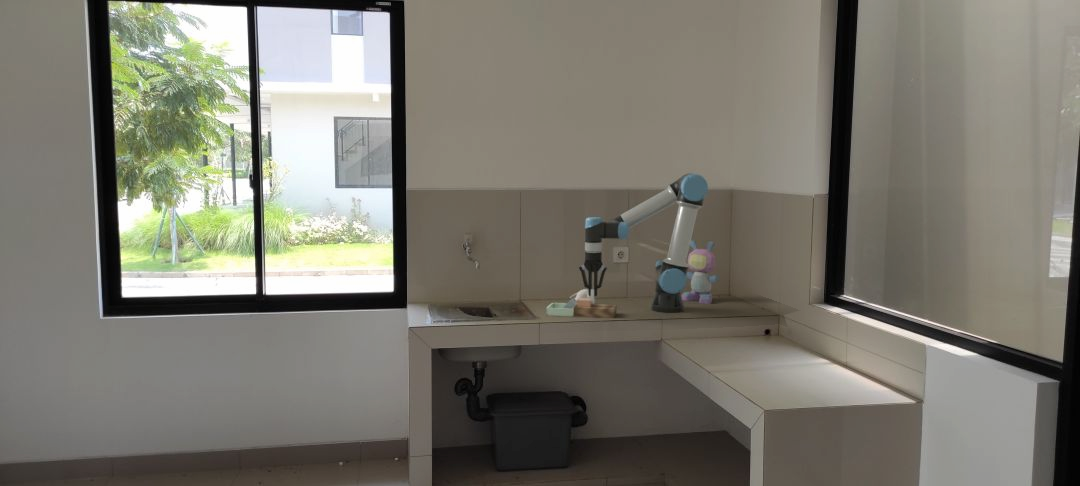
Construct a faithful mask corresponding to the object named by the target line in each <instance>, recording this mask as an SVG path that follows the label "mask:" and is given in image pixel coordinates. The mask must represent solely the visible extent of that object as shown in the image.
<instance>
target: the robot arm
mask: <svg viewBox="0 0 1080 486" xmlns="http://www.w3.org/2000/svg"><path fill="white" fill-rule="evenodd" d="M667 186H668V187H667V188H666V189H664V190H663V191H660V192H659V193H657V194H655V195H654V196H652V197H650V198H648V199H646V200H645V201H643V202H641V203H640V204H637V205H636V206H634V207H632V208H631V209H629V210H627V211H625V212H624V213H621V214H620V215H619V216H616V217H615V218H611V219H610V220H608V221H603V219H602V217H600V216H599V217H598V216H597V217H596V216H593V217H592V216H590V217H587V218H585V226H584V240H585V241H584V251H585V252H584V263H583V264H582V265H580V266H579V267H578V269H579V271H580V273H581V277H582V281H583V285H584V289H588V290H589V294H588V295H589V296H591V304H596V297H597V296H598V289H600V288H602V286H603V282H604V279H605V278H604V277H605V274H606V271H607V270H608V267H607V266H605V265H604V264H603V261H602V259H603V258H602V252H601V251H602V249H603V247H602V245H603V244H602V243H603V241H602V240H603V239H609V240H610V239H613V240H614V239H615V240H616V239H617V240H619V239H620V240H625V239H628V238H629V234H630V231H629V230H630V229H631V228H632V227H634V226H637V225H638V224H640V223H642V222H644V221H645V220H648V219H649V218H651V217H652V216H654V215H657V214H658V213H660V212H662V211H664V210H665V209H667V208H669V207H670V206H673V205H674V204H677V205H678V207H677V208H678V209H677V213H676V217H675V221H674V225H673V229H672V230H673V231H672V234H671V238H670V241H669V242H670V243H669V247H668V251H667V256H666V257H665V259H663V260H661V261H660V260H658V261H656V263H655V266H654V267H655V281H654V283H655V285H654V289H655V293H654V296H653V299H652V302H651V307H650V308H651V310H652V311H655V312H659V313H680V312H682V311H684V310H685V305H684V302H683V301H684V300H682V298H681V296H682V294H681V292H682V291H683V290H684V289H685V288H686V285H687V282H688V281H687V280H688V278H687V277H686V274H687V272H688V270H689V266H688V262H687V260H688V256H689V250H690V247H691V246H690V242H691V241H692V238H693V237H692V236H693V232H694V229H695V223H696V219H697V215H698V211H699V210H700V209H701V208H703V204H704V200H705V197H706V196H707V194H708V192H709V186H708V181H707V180H706V179H705V177H704V176H702V175H700V174H698V173H686V174H683V175H682V176H681V177H680V178H678V179H677V180H674V181H673V182H672V183H670V184H669V185H667ZM600 269H601V272H600V273H601V274H600V276H599V275H598V273H599V271H600ZM586 270H587V272H588V273H587V274H588V280H587V275H586ZM598 276H599V281H598Z"/></svg>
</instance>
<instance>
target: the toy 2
mask: <svg viewBox="0 0 1080 486" xmlns="http://www.w3.org/2000/svg"><path fill="white" fill-rule="evenodd" d="M715 245H716V244H715V242H714V241H708V242H707V245H706V249H705V248H698V247H697V242H696V241H695V240H693V239H691V242H690V246H689V247H691V248H692V251H691V252H690V253H688V255H687V265H688V269H690V270H691V271H694V272H691V271H687V274H686V279H687V280H691V281H690V288H691V290H690V291H684V292H683V293H682V294H681V298H682V301H686V302H692V301H698V303H699V304H705V305H706V304H707V305H710V304H712V302H713V293H711V292H710V291H711V290H712V283H717V282H718V281H719V280H720V279H719V276H718V275H717V274H714V275H710V276H709V273H712V272H714V271H715V269H716V256H715V254H714V252H712V249H713V248H714V246H715Z"/></svg>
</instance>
